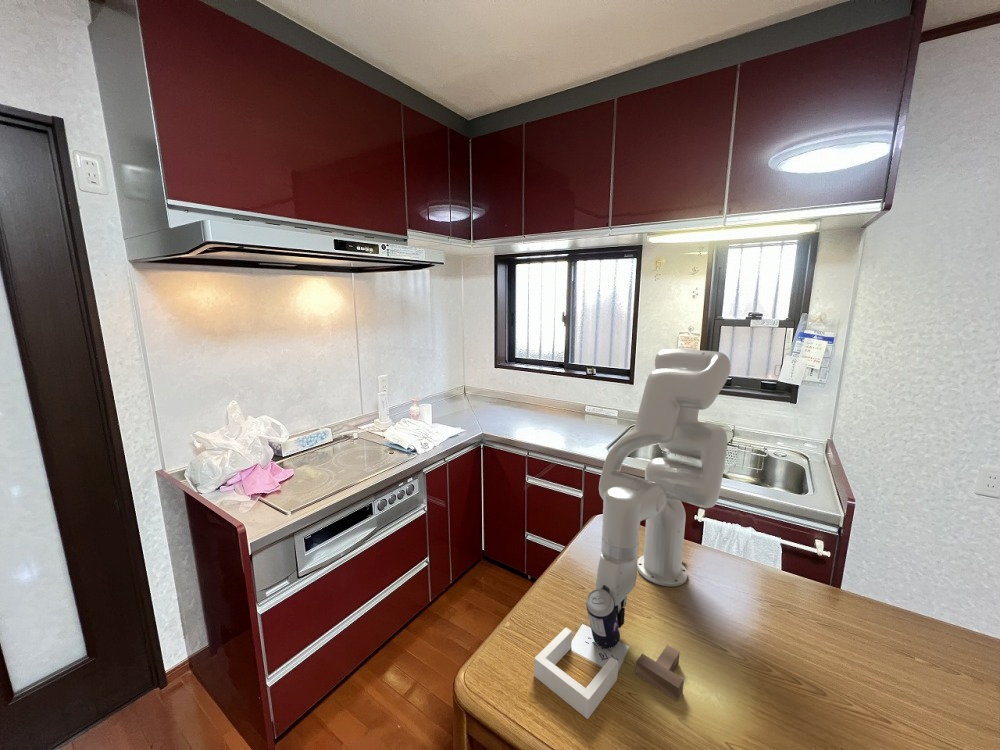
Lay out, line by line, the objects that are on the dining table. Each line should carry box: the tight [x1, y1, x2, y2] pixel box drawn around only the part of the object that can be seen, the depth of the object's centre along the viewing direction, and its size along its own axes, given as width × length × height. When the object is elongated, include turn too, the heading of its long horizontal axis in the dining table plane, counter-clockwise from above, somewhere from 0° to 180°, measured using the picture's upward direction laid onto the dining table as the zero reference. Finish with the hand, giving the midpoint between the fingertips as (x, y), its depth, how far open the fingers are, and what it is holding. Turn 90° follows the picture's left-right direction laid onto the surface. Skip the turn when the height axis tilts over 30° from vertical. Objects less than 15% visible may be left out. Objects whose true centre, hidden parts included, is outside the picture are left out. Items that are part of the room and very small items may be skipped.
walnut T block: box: [635, 644, 685, 703], centre depth 78 cm, size 8×8×3 cm
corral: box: [533, 626, 619, 720], centre depth 78 cm, size 10×12×4 cm
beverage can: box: [585, 588, 621, 650], centre depth 84 cm, size 6×6×12 cm
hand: (615, 622), depth 88 cm, fingers closed
